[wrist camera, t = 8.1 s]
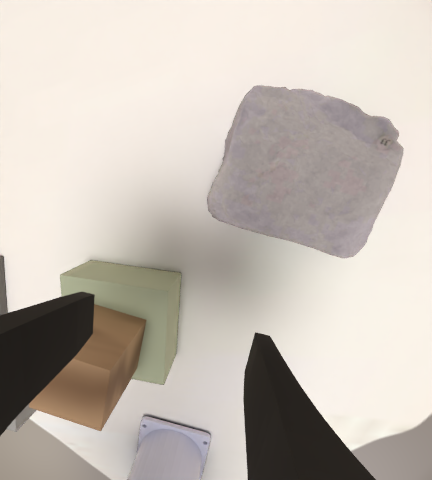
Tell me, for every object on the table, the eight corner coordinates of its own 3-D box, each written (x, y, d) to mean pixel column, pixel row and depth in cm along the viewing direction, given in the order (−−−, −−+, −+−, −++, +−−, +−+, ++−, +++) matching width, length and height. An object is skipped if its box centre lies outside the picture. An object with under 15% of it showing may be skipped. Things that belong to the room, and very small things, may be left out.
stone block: (236, 104, 18) (204, 220, 19) (241, 58, 13) (198, 217, 14) (375, 142, 18) (338, 257, 18) (431, 110, 13) (379, 268, 14)
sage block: (177, 351, 23) (163, 385, 19) (96, 337, 24) (67, 366, 20) (182, 271, 20) (168, 291, 17) (92, 259, 21) (59, 274, 17)
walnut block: (137, 368, 19) (100, 431, 14) (83, 351, 19) (29, 407, 14) (146, 319, 17) (110, 370, 13) (88, 302, 18) (31, 345, 13)
